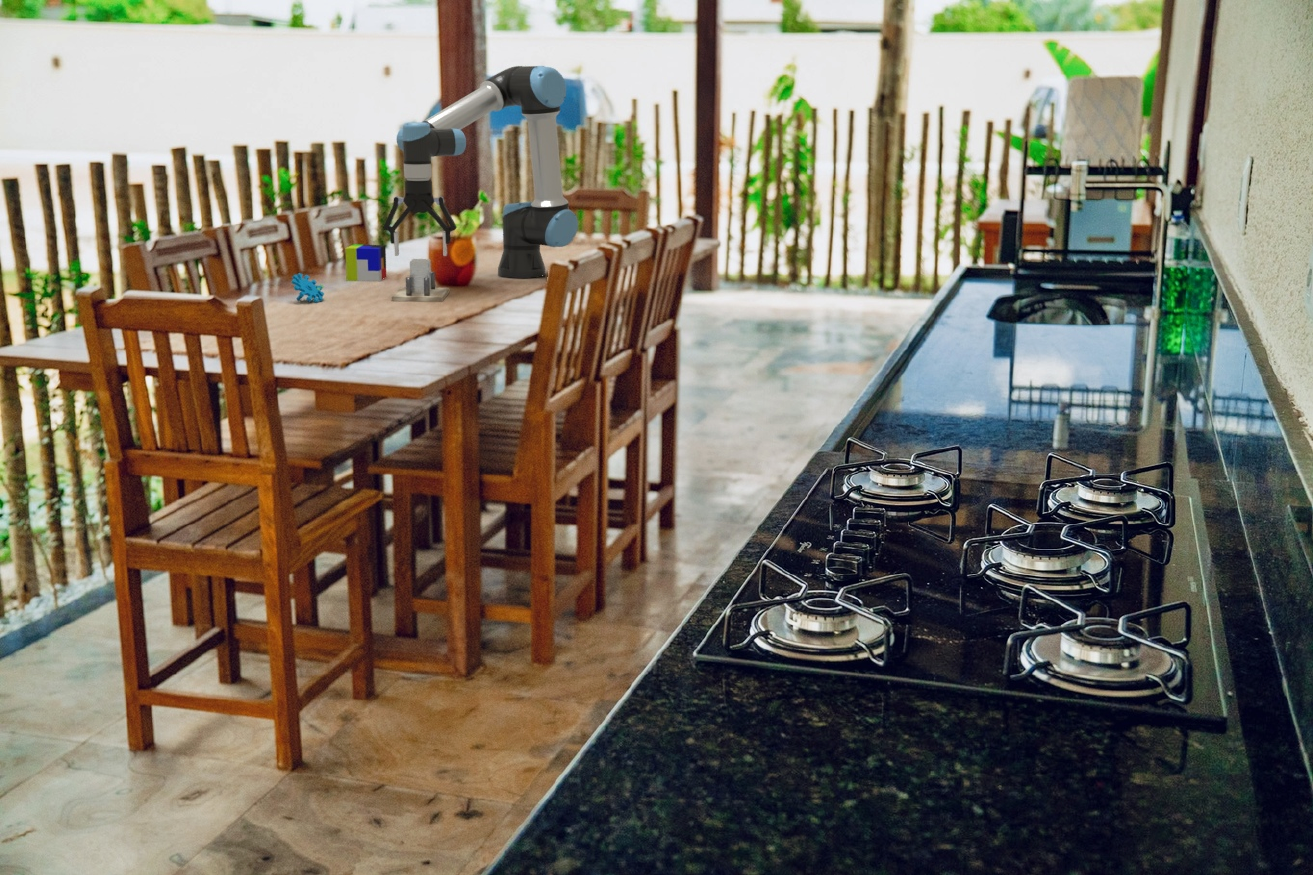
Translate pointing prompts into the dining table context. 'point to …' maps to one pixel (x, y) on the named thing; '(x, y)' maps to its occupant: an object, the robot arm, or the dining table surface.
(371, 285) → the dining table surface
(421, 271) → the jaw block
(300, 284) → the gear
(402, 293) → the peg fixture base
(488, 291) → the dining table surface
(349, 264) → the puzzle toy
